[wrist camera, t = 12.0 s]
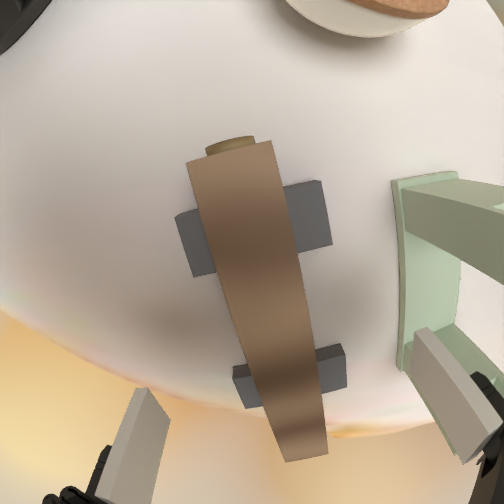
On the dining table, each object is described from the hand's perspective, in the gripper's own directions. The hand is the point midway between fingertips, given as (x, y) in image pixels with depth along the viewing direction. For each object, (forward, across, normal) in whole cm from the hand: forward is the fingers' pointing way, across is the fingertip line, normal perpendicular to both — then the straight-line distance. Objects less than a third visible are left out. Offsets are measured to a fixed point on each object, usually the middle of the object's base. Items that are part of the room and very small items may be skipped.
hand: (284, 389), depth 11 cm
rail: (+7, 0, -1) cm, 7 cm away
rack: (+8, +13, -2) cm, 16 cm away
